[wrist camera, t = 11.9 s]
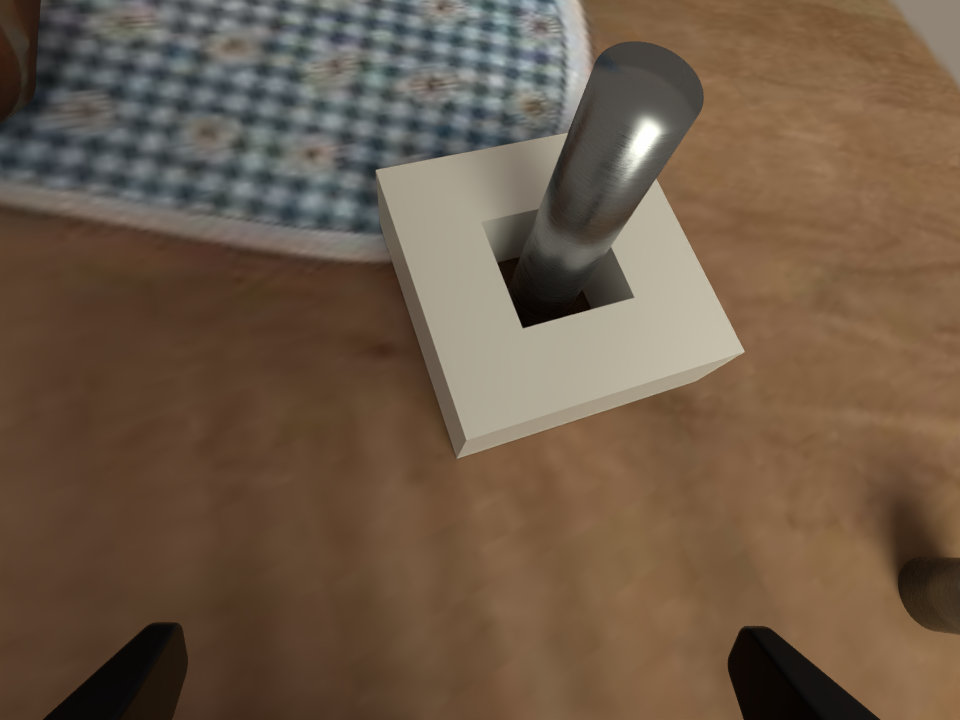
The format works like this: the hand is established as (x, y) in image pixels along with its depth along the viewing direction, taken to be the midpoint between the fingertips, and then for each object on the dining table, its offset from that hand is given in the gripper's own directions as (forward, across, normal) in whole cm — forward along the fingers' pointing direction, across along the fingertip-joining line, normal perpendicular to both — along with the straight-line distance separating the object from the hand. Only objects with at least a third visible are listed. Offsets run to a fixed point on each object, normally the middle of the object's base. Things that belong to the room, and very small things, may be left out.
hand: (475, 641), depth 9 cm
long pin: (+19, -4, 0) cm, 19 cm away
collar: (+19, -4, 0) cm, 19 cm away
